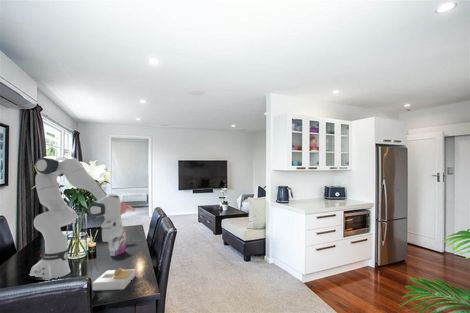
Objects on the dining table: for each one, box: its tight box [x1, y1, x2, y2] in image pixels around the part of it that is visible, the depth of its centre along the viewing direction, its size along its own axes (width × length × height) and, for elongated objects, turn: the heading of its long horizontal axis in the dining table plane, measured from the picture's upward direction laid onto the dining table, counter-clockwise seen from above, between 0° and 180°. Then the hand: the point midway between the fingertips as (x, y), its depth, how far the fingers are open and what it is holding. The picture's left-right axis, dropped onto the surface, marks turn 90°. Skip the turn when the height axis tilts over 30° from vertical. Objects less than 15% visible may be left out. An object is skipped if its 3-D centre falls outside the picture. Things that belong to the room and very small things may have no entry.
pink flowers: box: [103, 200, 135, 241], centre depth 225 cm, size 15×26×35 cm, turn 138°
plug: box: [108, 237, 119, 252], centre depth 154 cm, size 5×5×6 cm
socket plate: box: [92, 268, 136, 291], centre depth 142 cm, size 16×16×4 cm
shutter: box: [113, 266, 133, 279], centre depth 142 cm, size 7×9×3 cm
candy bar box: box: [109, 229, 127, 257], centre depth 192 cm, size 11×5×16 cm, turn 163°
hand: (113, 245), depth 154 cm, fingers closed on plug, 4 cm apart
